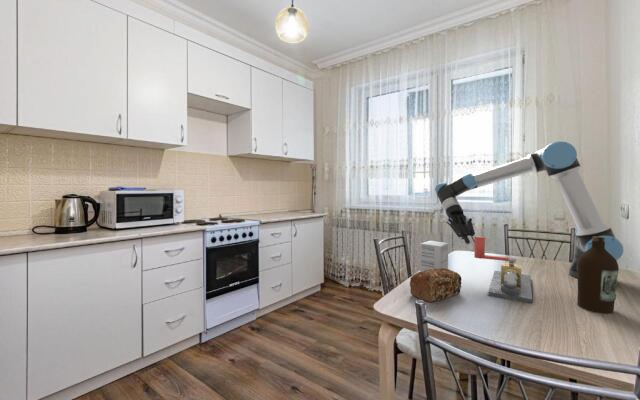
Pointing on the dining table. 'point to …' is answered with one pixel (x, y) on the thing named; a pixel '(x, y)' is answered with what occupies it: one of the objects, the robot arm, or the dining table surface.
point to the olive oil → (597, 278)
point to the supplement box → (433, 255)
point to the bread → (435, 284)
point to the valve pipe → (511, 283)
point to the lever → (480, 251)
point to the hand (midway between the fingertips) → (474, 249)
